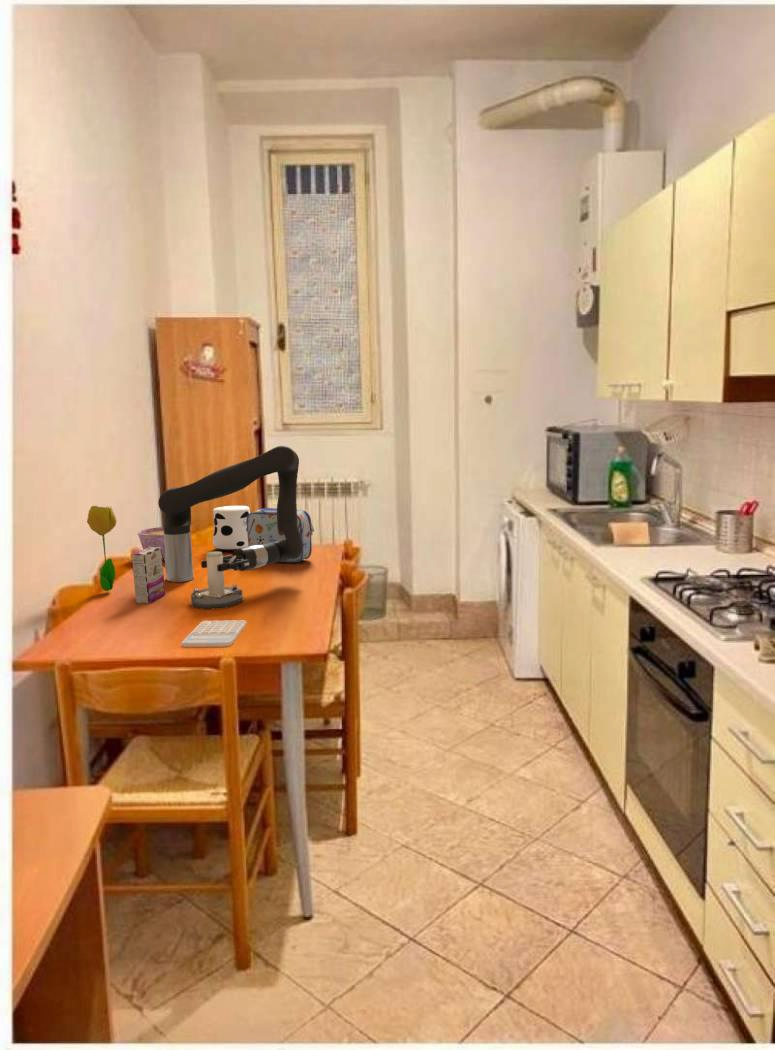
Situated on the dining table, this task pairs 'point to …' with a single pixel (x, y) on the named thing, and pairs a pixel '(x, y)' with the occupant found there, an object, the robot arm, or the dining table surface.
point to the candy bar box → (148, 575)
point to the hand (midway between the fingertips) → (209, 566)
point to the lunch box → (266, 530)
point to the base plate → (216, 598)
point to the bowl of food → (153, 538)
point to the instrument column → (215, 573)
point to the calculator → (214, 633)
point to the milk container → (230, 527)
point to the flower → (103, 523)
